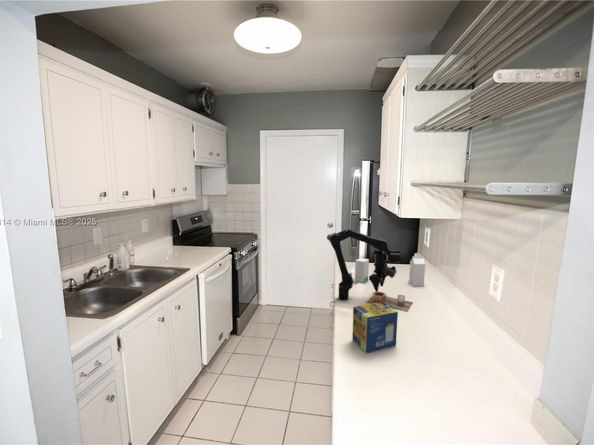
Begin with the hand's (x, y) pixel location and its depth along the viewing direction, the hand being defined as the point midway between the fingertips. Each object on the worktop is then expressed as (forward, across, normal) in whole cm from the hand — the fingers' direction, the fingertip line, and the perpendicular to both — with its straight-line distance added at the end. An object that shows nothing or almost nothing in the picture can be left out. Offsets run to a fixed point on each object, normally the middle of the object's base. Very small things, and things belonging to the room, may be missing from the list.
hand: (379, 288), depth 166 cm
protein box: (+8, -42, -11) cm, 44 cm away
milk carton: (+8, +41, -12) cm, 44 cm away
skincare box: (+8, +26, +20) cm, 34 cm away
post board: (+8, 0, -6) cm, 10 cm away
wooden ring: (+6, 0, 0) cm, 7 cm away
